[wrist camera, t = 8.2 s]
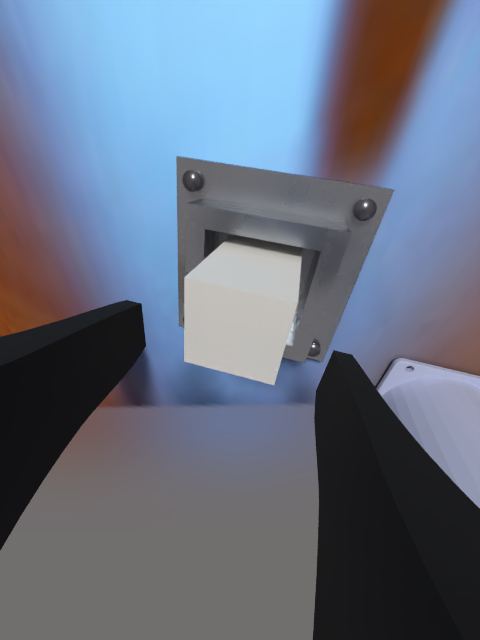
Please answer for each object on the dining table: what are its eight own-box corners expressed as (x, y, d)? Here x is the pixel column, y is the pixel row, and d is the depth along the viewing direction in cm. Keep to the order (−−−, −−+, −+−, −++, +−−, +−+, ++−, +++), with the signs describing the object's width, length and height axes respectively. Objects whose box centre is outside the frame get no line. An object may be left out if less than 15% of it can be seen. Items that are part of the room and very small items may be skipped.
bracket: (389, 188, 12) (414, 195, 9) (322, 354, 18) (324, 389, 16) (183, 156, 14) (149, 154, 11) (183, 320, 20) (161, 347, 17)
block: (302, 245, 14) (298, 302, 8) (286, 306, 16) (274, 385, 10) (234, 232, 14) (184, 277, 9) (227, 293, 17) (184, 361, 11)
